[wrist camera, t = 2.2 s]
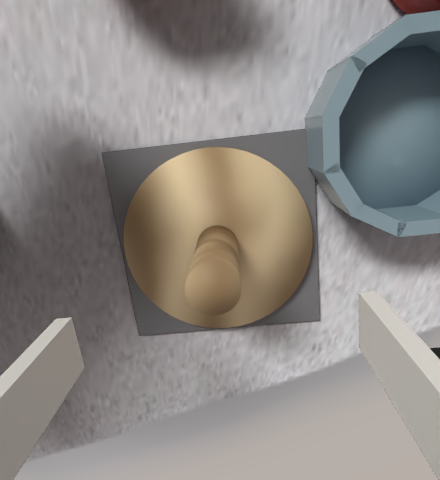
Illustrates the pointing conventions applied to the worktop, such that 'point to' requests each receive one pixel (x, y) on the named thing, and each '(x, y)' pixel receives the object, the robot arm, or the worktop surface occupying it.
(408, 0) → the stacking bear
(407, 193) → the bowl
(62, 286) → the worktop surface
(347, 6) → the worktop surface
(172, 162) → the lid
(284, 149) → the mat
